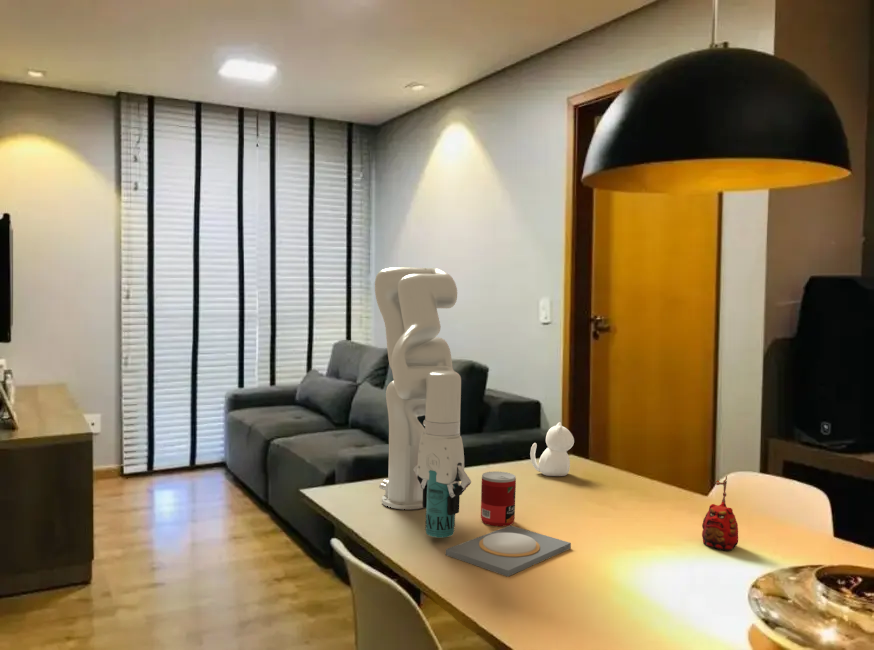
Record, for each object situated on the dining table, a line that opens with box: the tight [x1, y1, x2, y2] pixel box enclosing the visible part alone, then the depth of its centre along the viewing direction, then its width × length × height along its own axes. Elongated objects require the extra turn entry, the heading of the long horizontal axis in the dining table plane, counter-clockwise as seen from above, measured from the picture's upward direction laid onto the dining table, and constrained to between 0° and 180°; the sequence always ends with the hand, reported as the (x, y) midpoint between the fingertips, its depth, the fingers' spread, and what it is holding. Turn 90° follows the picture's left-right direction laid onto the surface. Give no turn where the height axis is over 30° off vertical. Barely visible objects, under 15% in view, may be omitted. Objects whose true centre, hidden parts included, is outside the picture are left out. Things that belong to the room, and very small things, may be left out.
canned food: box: [480, 470, 517, 527], centre depth 181 cm, size 8×8×11 cm
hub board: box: [445, 524, 572, 577], centre depth 161 cm, size 16×22×2 cm
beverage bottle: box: [424, 470, 456, 538], centre depth 167 cm, size 6×7×20 cm
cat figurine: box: [529, 421, 575, 477], centre depth 226 cm, size 9×12×15 cm
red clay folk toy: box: [701, 475, 739, 552], centre depth 167 cm, size 8×7×15 cm
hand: (440, 509), depth 167 cm, fingers closed on beverage bottle, 6 cm apart
